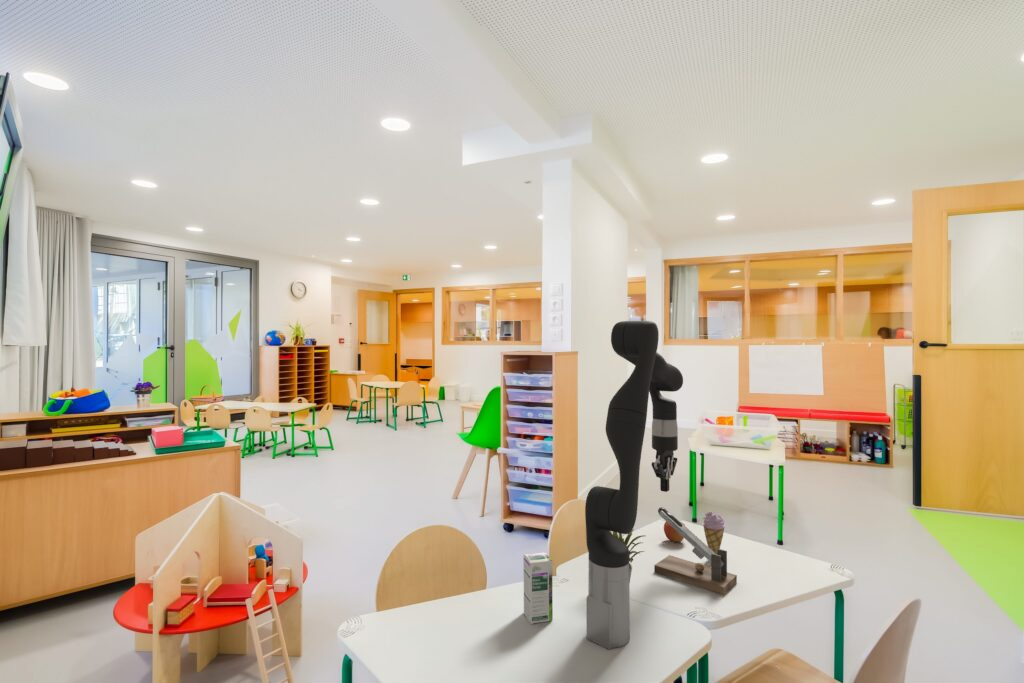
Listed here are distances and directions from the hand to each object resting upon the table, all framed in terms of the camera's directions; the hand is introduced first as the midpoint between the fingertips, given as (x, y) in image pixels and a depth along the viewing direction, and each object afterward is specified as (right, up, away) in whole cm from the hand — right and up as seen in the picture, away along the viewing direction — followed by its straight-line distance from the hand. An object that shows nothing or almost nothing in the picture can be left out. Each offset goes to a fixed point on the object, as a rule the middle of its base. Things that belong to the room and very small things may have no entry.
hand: (664, 490), depth 147 cm
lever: (+5, -13, -5) cm, 15 cm away
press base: (+6, -23, -7) cm, 25 cm away
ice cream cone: (+17, -24, +6) cm, 30 cm away
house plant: (-16, -23, -15) cm, 31 cm away
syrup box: (-40, -22, -29) cm, 54 cm away
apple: (+10, -24, +20) cm, 33 cm away
